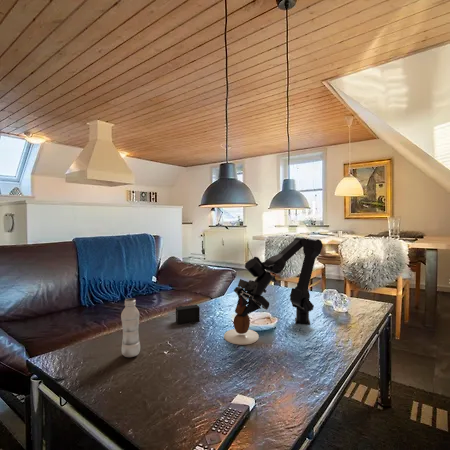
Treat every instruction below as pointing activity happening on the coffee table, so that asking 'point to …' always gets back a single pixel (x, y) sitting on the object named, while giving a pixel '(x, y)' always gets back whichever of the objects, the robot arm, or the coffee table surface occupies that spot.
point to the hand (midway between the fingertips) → (238, 314)
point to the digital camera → (187, 314)
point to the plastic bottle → (130, 329)
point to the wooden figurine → (241, 319)
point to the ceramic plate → (241, 337)
